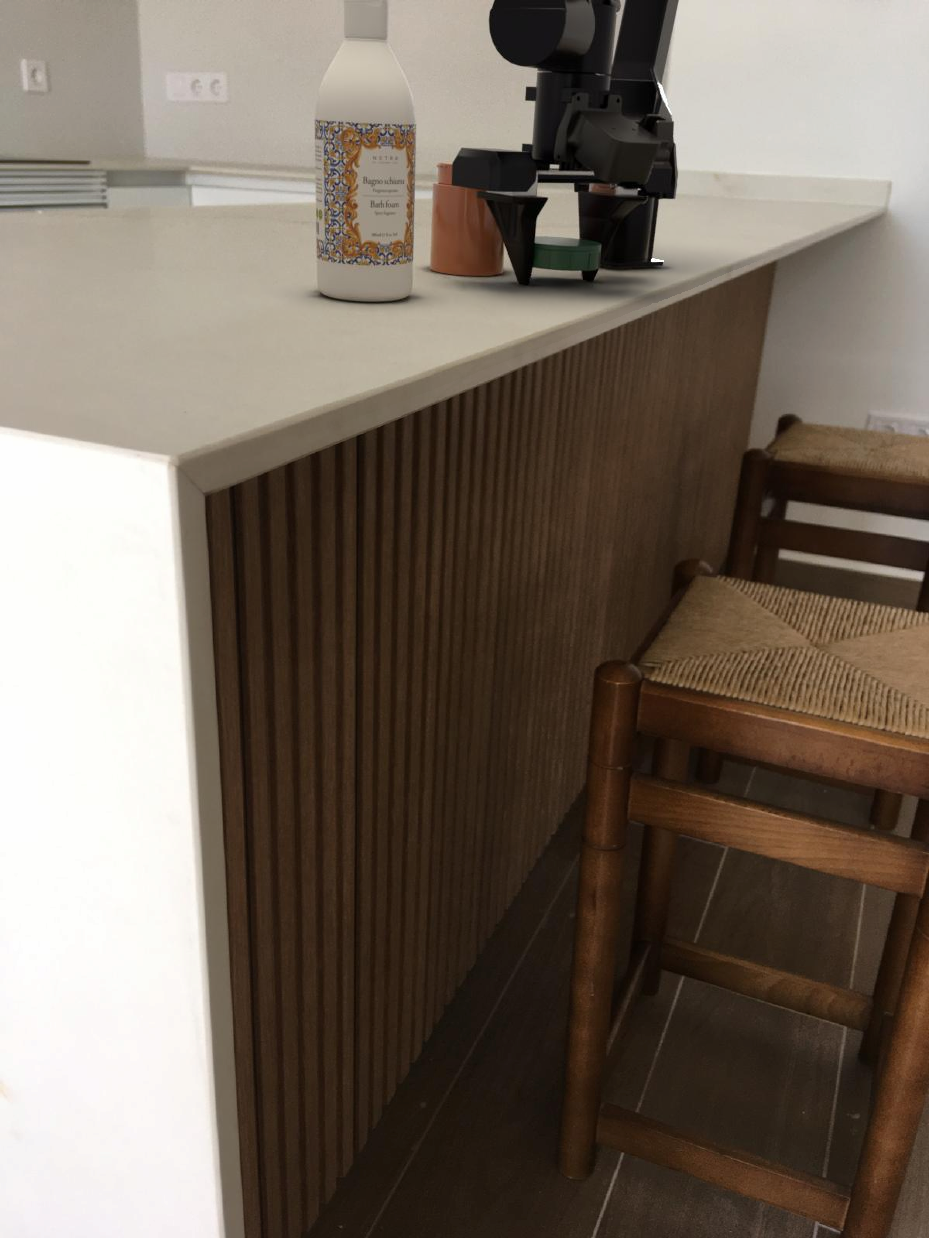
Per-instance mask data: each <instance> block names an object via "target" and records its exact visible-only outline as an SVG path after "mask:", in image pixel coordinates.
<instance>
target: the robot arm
mask: <svg viewBox="0 0 929 1238" xmlns="http://www.w3.org/2000/svg"><path fill="white" fill-rule="evenodd" d="M679 1H680V0H624V4H623V5H624V6H623V10H622V14H621V19H620V25H619V28H618V29H619V30H618V35H617V39H616V45H615V37H616V26H617V16H618V12H620V10H621V7H622V4H621V0H493V3H492V6H491V8H490V9H489V15H488V27H489V28H488V29H489V35H490V38H491V43H492V44H493V46H494V48H495V50H496V52H498V54H499V55H500V56H501V57H502V59H504V60H505V61H507V62H509V63H510V64H511V65H515V66H517V67H524V68H529V69H530V68H531V69H536V70H537V71H536V82H535V83H536V85H535V86H525V95H524V101H526V102H534V115H533V125H532V126H533V128H532V139H531V140H532V141H531V143H521V150H513V149H503V148H502V149H501V148H487V147H484V148H482V147H461V148H460V150H459V151H458V153H457V154H456V156H455V158H454V160H452V162H453V163H452V184H451V186H458V187H465V188H472V189H478V190H485V191H476V197H477V198H481V199H485V201H486V203H487V205H488V208H489V210H490V212H491V214H492V216H493V218H494V220H495V223H496V225H497V227H498V229H499V231H500V234H501V237H502V239H503V242H504V245H505V251H506V253H507V256H508V258H509V262H510V264H511V267H512V270H513V273H514V275H515V278H516V281H517V283H518V284H519V285H520V286H524V287H525V286H526V287H527V286H529V285H530V284H531V278H532V273H533V268H534V267H533V258H534V246H535V236H536V234H537V233H536V232H537V222H538V217H539V216H540V214H541V212H542V210H543V209H544V207H545V206H546V203H547V202H548V200H549V197H548V196H541V195H538V186H539V185H538V184H573V191H574V193H577V208H578V233H579V235H578V236H579V238H578V239H583V240H590V241H595V242H598V243H601V256H600V266H599V268H598V269H596V270H590V271H580V272H581V277H582V281H584V282H587V283H593V282H594V281H595V279H596V277H597V275H598V273H599V270H600V268H601V266H602V267H603V266H604V267H609V268H614V269H620V268H643V267H663V266H664V260H661V259H656V258H653V254H654V245H655V238H656V237H655V236H656V229H657V221H658V214H659V213H658V212H659V204H660V200H676V195H677V189H678V178H679V169H678V157H677V145H676V143H675V140H674V132H675V131H674V129H675V122H674V120H673V115H672V112H671V109H670V106H669V103H668V100H667V97H666V94H665V92H664V88H663V86H662V85H663V79H664V74H665V70H666V63H667V60H668V56H669V55H668V54H669V51H670V44H671V39H672V36H673V32H674V31H673V30H674V25H675V22H676V21H675V20H676V16H677V11H678V8H679V7H678V6H679ZM614 47H615V48H614ZM614 49H615V50H614ZM551 166H558V167H551Z"/></svg>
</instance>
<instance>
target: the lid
mask: <svg viewBox="0 0 929 1238" xmlns="http://www.w3.org/2000/svg"><path fill="white" fill-rule="evenodd" d="M600 256H601V243H598V242H595V241H590V240H583V239H579V238H573V237H562V236H542V235H539V236H538V235H535V246H534V258H533V268H534V269H542V270H550V271H565V272H566V271H567V272H581V271H590V270H596V269H598V268H599V266H600ZM600 267H601V266H600ZM599 269H600V268H599Z"/></svg>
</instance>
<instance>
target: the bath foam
mask: <svg viewBox="0 0 929 1238" xmlns="http://www.w3.org/2000/svg"><path fill="white" fill-rule="evenodd" d="M389 3H390V2H389V0H343V35H344V39H343V42H342V43H341V44H340V47H339V49H338V50H337V53H336V54H335V56H334V58H333V59H332V61H331V63H330V65H329V66H328V68H327V70H326V72H325V74H324V76H323V78H322V81H321V83H320V86H319V90H318V93H317V97H316V103H315V110H314V111H315V114H314V158H315V159H314V165H315V167H314V168H315V171H314V173H315V220H316V221H315V231H316V232H315V233H316V235H315V236H316V237H315V238H316V278H317V279H316V280H317V282H316V283H317V289H318V290H319V292H320V293H321V294H323V295H324V296H326V297H329V298H332V299H337V300H341V301H351V302H365V303H366V302H367V303H371V302H373V303H375V302H377V303H379V302H391V301H398V300H402V299H405V298H407V297H408V296H409V295H410V294H411V293H412V290H413V277H414V276H413V275H414V274H413V272H414V246H415V245H414V239H415V200H416V199H415V197H416V193H415V192H416V159H417V157H416V156H417V155H416V154H417V119H416V118H417V116H416V108H415V101H414V96H413V93H412V89H411V87H410V84H409V81H408V80H407V77H406V75H405V72H404V71H403V69H402V66H401V64H400V63H399V61H398V59H397V57H396V55H395V54H394V51H393V49H392V48H391V46H390V44H389V41H388V38H389V7H390V6H389Z"/></svg>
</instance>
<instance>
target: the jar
mask: <svg viewBox="0 0 929 1238" xmlns="http://www.w3.org/2000/svg"><path fill="white" fill-rule="evenodd" d="M452 163H453V161H438V163H437V164H436V168H437V181H434V182H433V183H432V195H431V197H432V200H431V205H432V206H431V224H430V225H431V229H430V234H431V235H430V256H429V257H430V259H429V269H430V270H431V271H433V272H436V273H440V274H445V275H452V276H453V275H454V276H464V277H466V276H467V277H490V276H492V277H493V276H498V275H501V274H504V268H505V267H504V266H505V251H506V248H505V245H504V242H503V239H502V237H501V234H500V231H499V229H498V227H497V225H496V223H495V220H494V218H493V216H492V214H491V212H490V210H489V208H488V205H487V203H486V201H485V199H481V198H477V197H476V191H485V190H478V189H472V188H465V187H458V186H451V184H452Z"/></svg>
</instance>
